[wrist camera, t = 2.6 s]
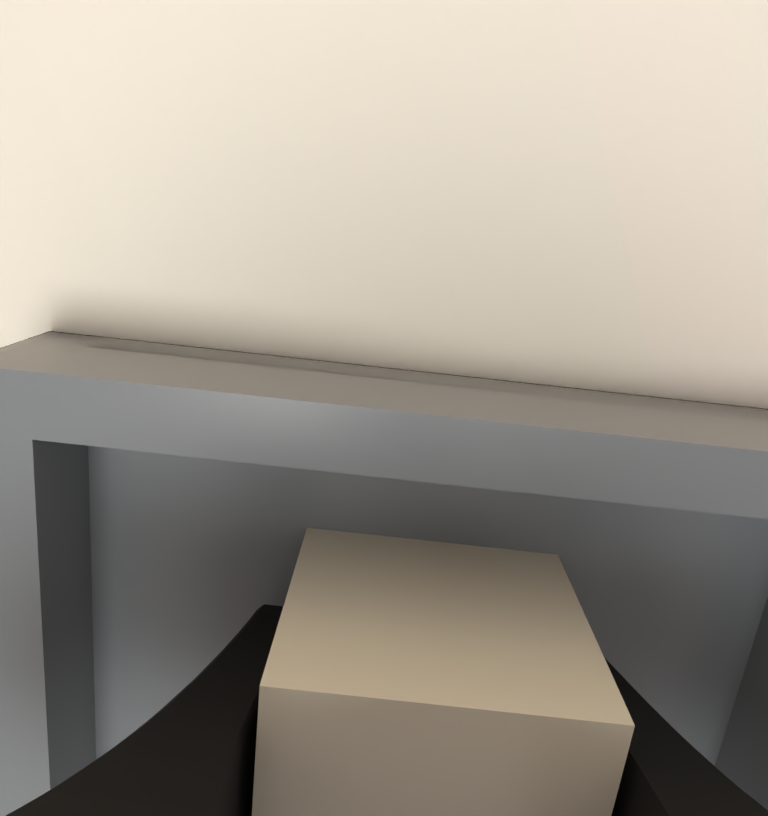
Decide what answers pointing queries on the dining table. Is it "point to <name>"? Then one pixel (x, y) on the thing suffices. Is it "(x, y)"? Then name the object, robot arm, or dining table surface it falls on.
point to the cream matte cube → (435, 687)
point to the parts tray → (352, 526)
